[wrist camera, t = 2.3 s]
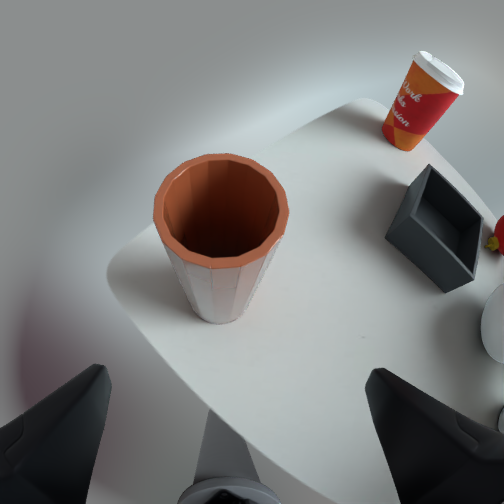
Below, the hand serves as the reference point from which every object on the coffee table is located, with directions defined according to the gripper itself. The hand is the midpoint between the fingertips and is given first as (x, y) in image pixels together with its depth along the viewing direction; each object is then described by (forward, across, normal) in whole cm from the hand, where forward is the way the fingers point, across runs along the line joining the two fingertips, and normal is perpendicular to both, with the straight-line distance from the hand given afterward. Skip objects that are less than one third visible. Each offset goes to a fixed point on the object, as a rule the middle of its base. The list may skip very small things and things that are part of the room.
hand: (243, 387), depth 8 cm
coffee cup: (+31, -25, -14) cm, 42 cm away
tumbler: (+15, +1, +4) cm, 15 cm away
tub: (+20, -24, -1) cm, 31 cm away
